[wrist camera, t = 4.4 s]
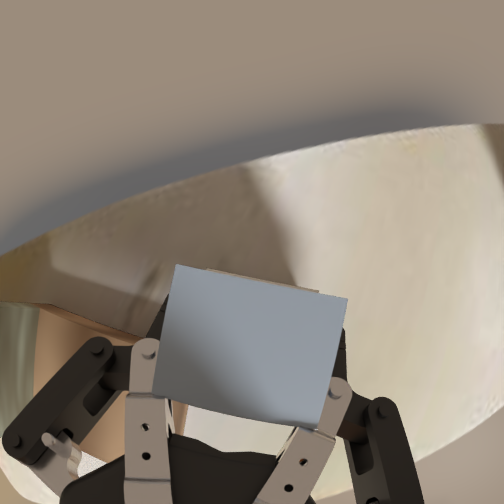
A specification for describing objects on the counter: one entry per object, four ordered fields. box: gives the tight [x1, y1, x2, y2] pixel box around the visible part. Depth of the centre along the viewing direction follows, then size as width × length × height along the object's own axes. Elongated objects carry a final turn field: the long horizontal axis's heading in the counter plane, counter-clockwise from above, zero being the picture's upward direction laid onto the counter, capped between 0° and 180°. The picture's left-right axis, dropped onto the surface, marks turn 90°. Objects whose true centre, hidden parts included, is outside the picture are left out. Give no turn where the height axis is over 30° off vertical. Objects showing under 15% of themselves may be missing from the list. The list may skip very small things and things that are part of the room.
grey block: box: [151, 264, 348, 429], centre depth 13 cm, size 5×4×10 cm
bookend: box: [0, 301, 188, 463], centre depth 10 cm, size 12×9×14 cm
